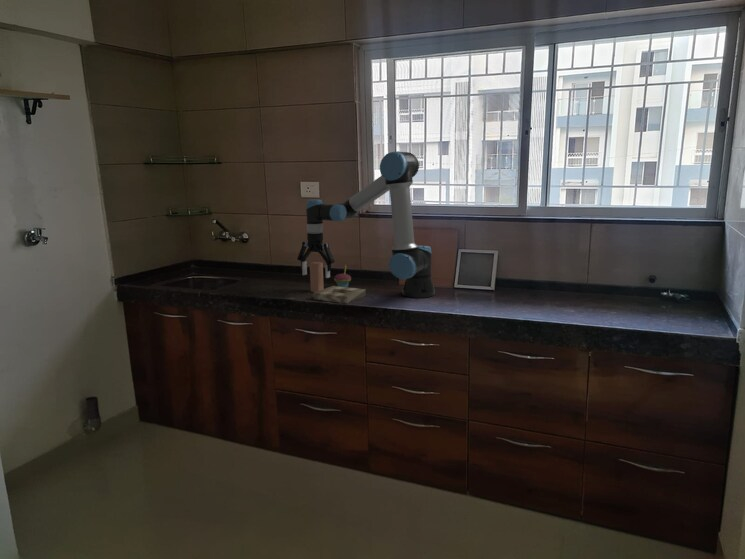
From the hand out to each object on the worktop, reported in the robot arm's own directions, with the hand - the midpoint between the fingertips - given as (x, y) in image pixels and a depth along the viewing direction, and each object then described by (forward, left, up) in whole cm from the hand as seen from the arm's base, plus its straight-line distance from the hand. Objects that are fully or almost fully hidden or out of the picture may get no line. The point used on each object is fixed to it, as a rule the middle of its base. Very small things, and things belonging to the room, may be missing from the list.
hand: (316, 276), depth 252 cm
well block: (-17, +6, -7) cm, 20 cm away
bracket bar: (0, 0, -7) cm, 7 cm away
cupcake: (-7, -12, -8) cm, 16 cm away
